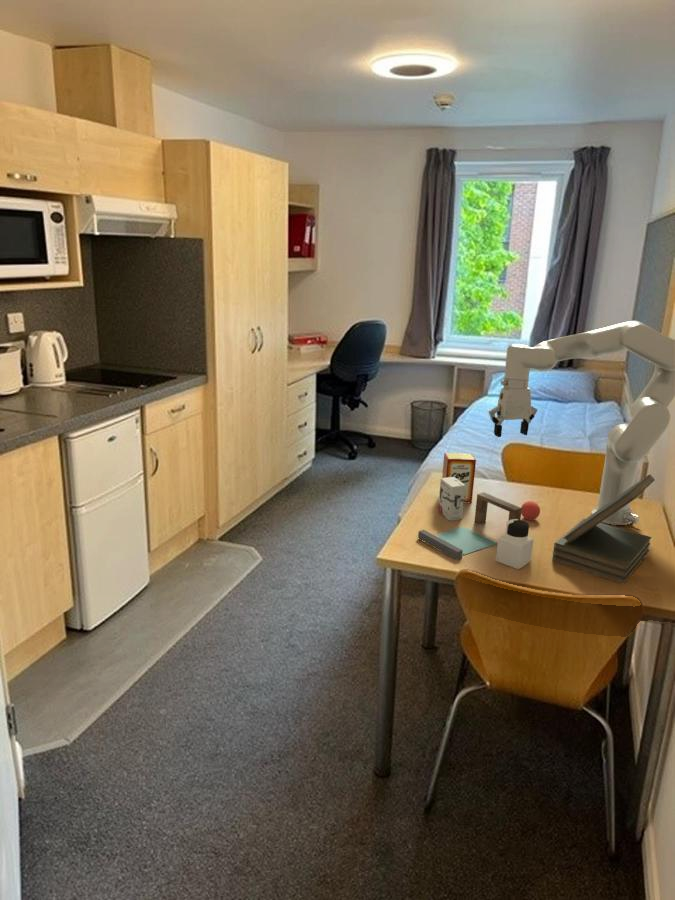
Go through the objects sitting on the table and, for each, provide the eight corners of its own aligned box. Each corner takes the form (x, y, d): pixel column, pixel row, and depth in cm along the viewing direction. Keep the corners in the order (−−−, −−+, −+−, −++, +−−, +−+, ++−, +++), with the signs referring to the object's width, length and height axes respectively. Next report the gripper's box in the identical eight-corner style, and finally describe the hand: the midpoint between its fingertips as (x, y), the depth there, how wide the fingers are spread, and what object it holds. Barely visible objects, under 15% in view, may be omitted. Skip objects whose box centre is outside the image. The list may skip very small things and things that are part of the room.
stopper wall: (461, 558, 182) (462, 550, 181) (456, 560, 181) (457, 551, 180) (423, 537, 194) (423, 529, 193) (418, 538, 193) (418, 531, 192)
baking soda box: (467, 495, 228) (471, 452, 223) (471, 503, 222) (476, 458, 217) (440, 495, 227) (444, 452, 223) (444, 502, 221) (448, 457, 216)
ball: (542, 520, 209) (545, 503, 207) (530, 524, 206) (533, 506, 204) (527, 514, 214) (530, 497, 212) (515, 517, 210) (517, 500, 208)
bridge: (480, 520, 207) (483, 492, 204) (518, 537, 196) (521, 508, 193) (474, 522, 206) (477, 494, 203) (511, 540, 194) (515, 510, 191)
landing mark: (497, 543, 191) (497, 543, 191) (464, 555, 184) (464, 554, 183) (463, 526, 202) (463, 526, 202) (430, 537, 194) (430, 536, 194)
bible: (580, 536, 199) (592, 459, 191) (648, 556, 187) (663, 475, 180) (551, 562, 182) (563, 478, 174) (623, 586, 170) (640, 497, 163)
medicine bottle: (531, 561, 181) (536, 522, 177) (518, 570, 176) (523, 529, 172) (508, 553, 186) (512, 514, 182) (495, 561, 181) (499, 521, 177)
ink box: (436, 510, 214) (439, 477, 210) (450, 509, 215) (453, 476, 212) (448, 521, 206) (452, 486, 203) (462, 519, 208) (466, 485, 204)
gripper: (498, 387, 201) (493, 440, 206) (546, 384, 206) (540, 436, 211) (485, 382, 207) (481, 433, 213) (532, 380, 213) (527, 430, 218)
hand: (510, 435), depth 212 cm, fingers open, 9 cm apart
